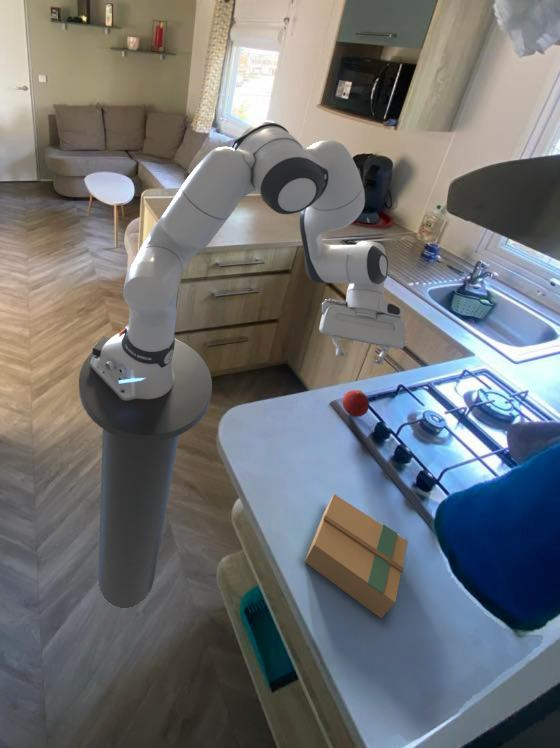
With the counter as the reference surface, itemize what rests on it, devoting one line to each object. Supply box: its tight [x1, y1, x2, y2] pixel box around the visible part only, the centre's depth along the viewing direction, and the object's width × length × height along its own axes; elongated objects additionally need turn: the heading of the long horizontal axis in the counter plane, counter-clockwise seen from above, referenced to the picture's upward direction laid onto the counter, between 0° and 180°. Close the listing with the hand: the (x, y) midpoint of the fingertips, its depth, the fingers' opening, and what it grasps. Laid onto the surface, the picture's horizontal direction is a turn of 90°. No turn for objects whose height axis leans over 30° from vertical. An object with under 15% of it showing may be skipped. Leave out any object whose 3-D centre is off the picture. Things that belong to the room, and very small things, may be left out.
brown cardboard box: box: [304, 493, 408, 619], centre depth 73 cm, size 13×11×6 cm
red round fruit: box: [341, 389, 370, 418], centre depth 101 cm, size 6×6×8 cm
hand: (359, 359), depth 104 cm, fingers open, 8 cm apart
